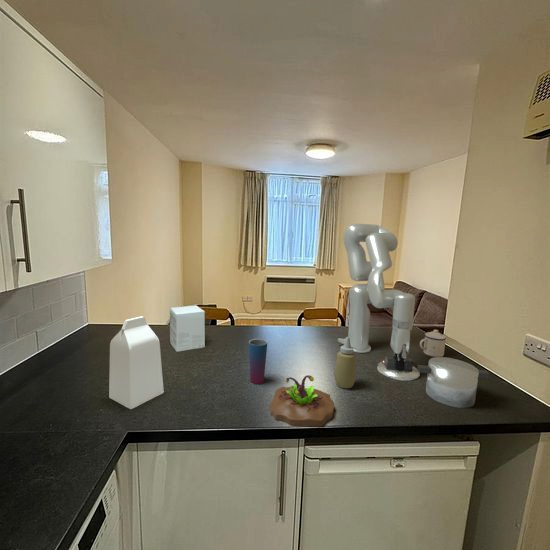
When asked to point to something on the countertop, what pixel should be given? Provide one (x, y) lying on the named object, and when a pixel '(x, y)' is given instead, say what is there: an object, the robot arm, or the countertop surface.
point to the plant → (301, 405)
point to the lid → (389, 370)
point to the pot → (452, 381)
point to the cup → (257, 360)
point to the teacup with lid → (434, 344)
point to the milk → (135, 364)
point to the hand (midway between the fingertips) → (398, 367)
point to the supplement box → (187, 328)
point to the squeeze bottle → (345, 366)
